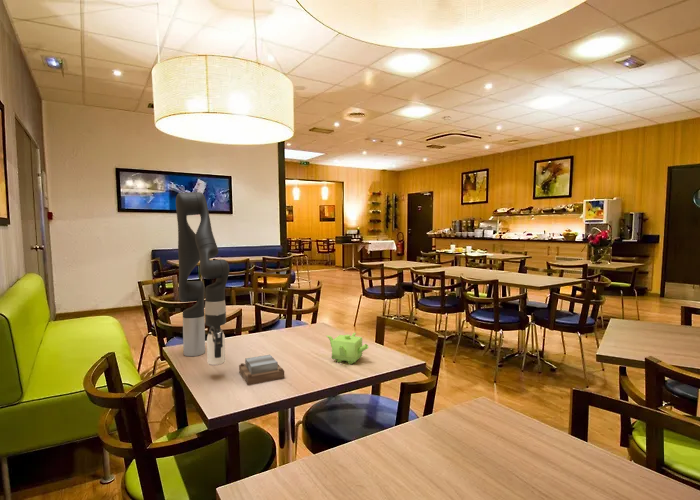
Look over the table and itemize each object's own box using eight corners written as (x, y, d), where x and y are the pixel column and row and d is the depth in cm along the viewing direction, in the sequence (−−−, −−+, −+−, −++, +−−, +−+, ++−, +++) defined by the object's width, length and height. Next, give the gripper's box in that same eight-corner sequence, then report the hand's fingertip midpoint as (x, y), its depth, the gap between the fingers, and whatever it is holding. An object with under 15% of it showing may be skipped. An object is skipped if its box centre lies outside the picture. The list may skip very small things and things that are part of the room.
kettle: (325, 357, 171) (325, 332, 170) (354, 353, 177) (354, 329, 176) (338, 368, 157) (338, 341, 157) (369, 363, 163) (369, 337, 163)
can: (219, 366, 144) (219, 335, 143) (203, 364, 145) (203, 333, 144) (228, 360, 150) (227, 330, 149) (213, 358, 151) (212, 329, 150)
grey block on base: (239, 372, 153) (239, 357, 152) (273, 366, 159) (273, 352, 159) (247, 385, 140) (247, 369, 140) (284, 378, 147) (284, 363, 147)
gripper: (202, 309, 151) (203, 350, 152) (208, 317, 138) (208, 362, 139) (222, 307, 154) (222, 347, 155) (229, 315, 142) (230, 359, 143)
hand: (216, 354), depth 147 cm, fingers closed on can, 6 cm apart
